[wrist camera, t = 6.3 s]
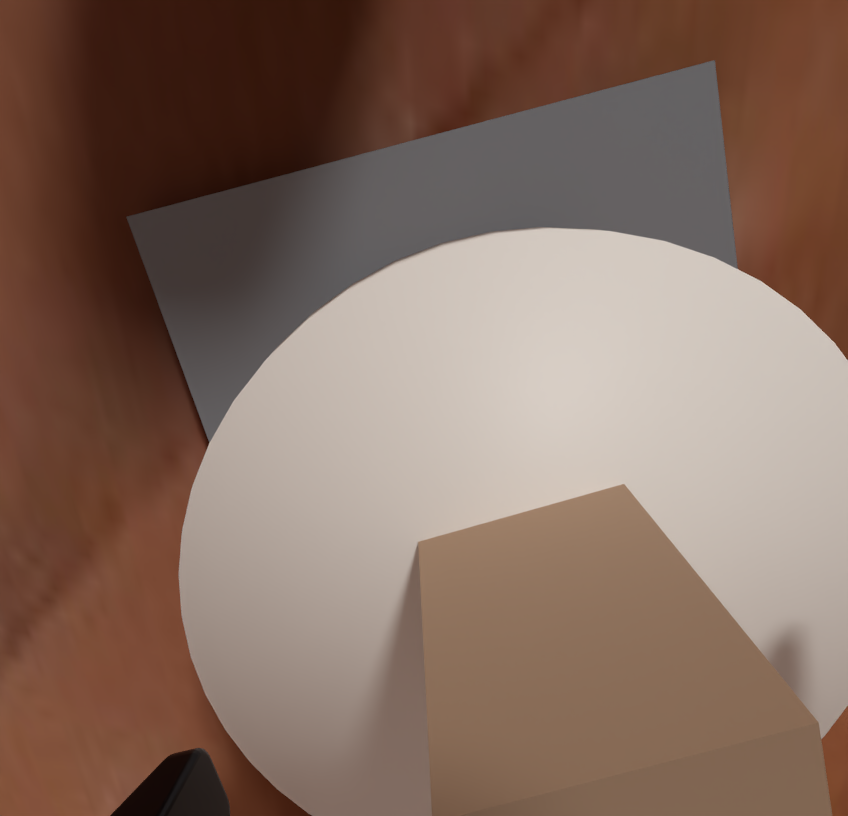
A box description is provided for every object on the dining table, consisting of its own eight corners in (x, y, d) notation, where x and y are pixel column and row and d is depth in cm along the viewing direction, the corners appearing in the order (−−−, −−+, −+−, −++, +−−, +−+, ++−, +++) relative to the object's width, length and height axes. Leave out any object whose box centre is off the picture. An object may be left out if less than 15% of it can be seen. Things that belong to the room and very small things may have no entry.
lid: (818, 128, 9) (1421, 9, 4) (885, 737, 12) (1270, 1155, 7) (86, 352, 9) (-310, 527, 4) (326, 881, 12) (271, 1372, 7)
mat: (701, 66, 13) (714, 60, 13) (766, 638, 17) (779, 652, 17) (137, 216, 14) (126, 216, 13) (327, 740, 18) (325, 757, 17)
